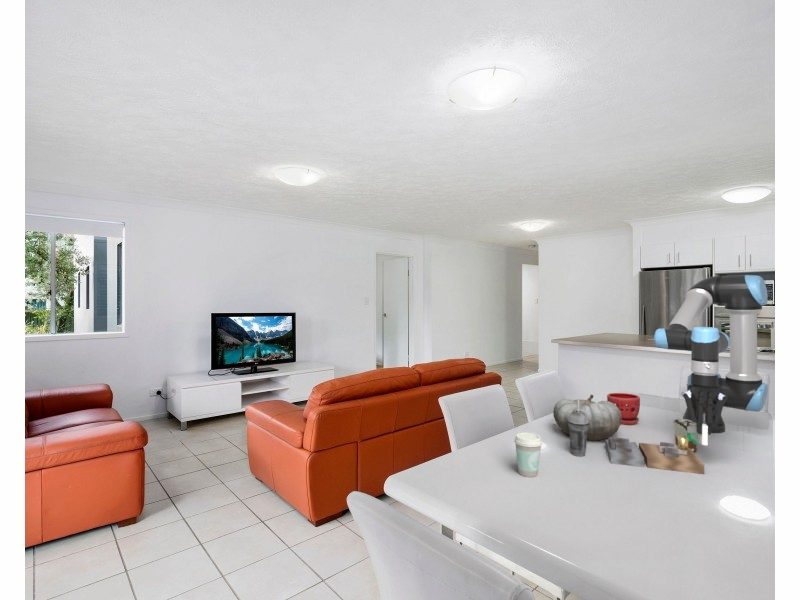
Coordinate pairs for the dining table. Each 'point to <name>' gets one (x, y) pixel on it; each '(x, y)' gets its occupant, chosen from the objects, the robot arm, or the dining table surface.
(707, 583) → the dining table surface
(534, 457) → the coffee cup
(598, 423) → the gourd
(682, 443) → the bolt
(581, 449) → the beverage cup
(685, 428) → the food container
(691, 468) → the door board
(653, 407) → the dining table surface
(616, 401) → the plant pot
